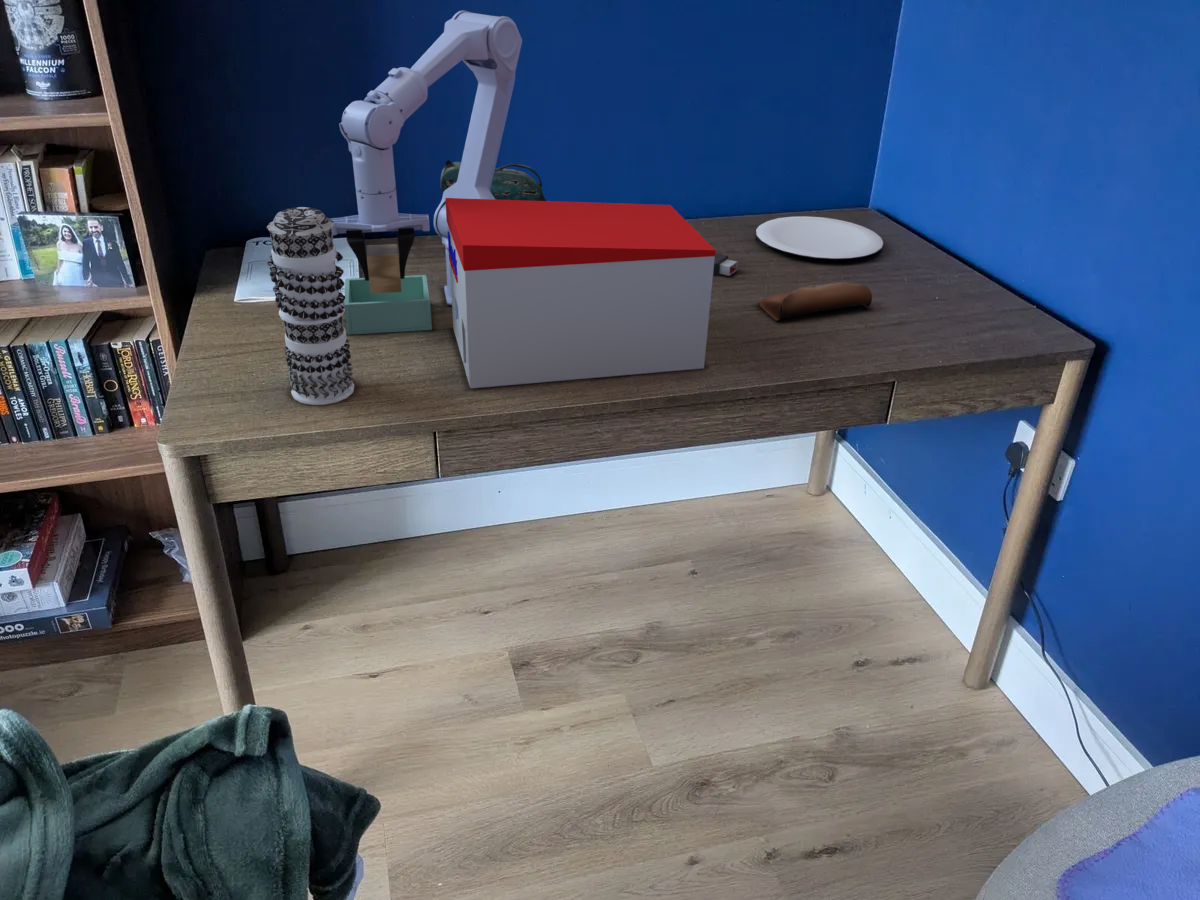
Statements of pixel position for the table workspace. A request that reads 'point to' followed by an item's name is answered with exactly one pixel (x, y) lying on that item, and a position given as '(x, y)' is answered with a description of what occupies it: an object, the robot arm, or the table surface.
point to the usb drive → (724, 265)
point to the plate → (819, 238)
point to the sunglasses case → (816, 299)
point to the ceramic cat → (501, 182)
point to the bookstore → (575, 290)
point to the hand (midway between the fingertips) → (384, 277)
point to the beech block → (383, 268)
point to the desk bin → (387, 307)
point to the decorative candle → (311, 305)
